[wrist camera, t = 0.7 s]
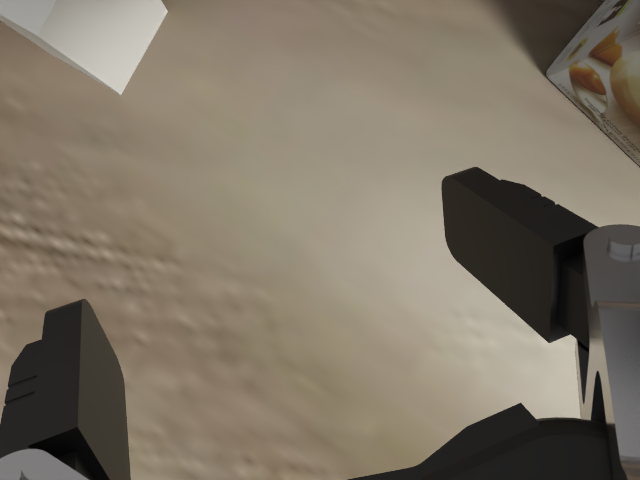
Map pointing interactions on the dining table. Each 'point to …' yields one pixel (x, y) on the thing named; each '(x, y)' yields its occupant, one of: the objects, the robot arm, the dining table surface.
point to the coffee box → (606, 72)
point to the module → (89, 33)
